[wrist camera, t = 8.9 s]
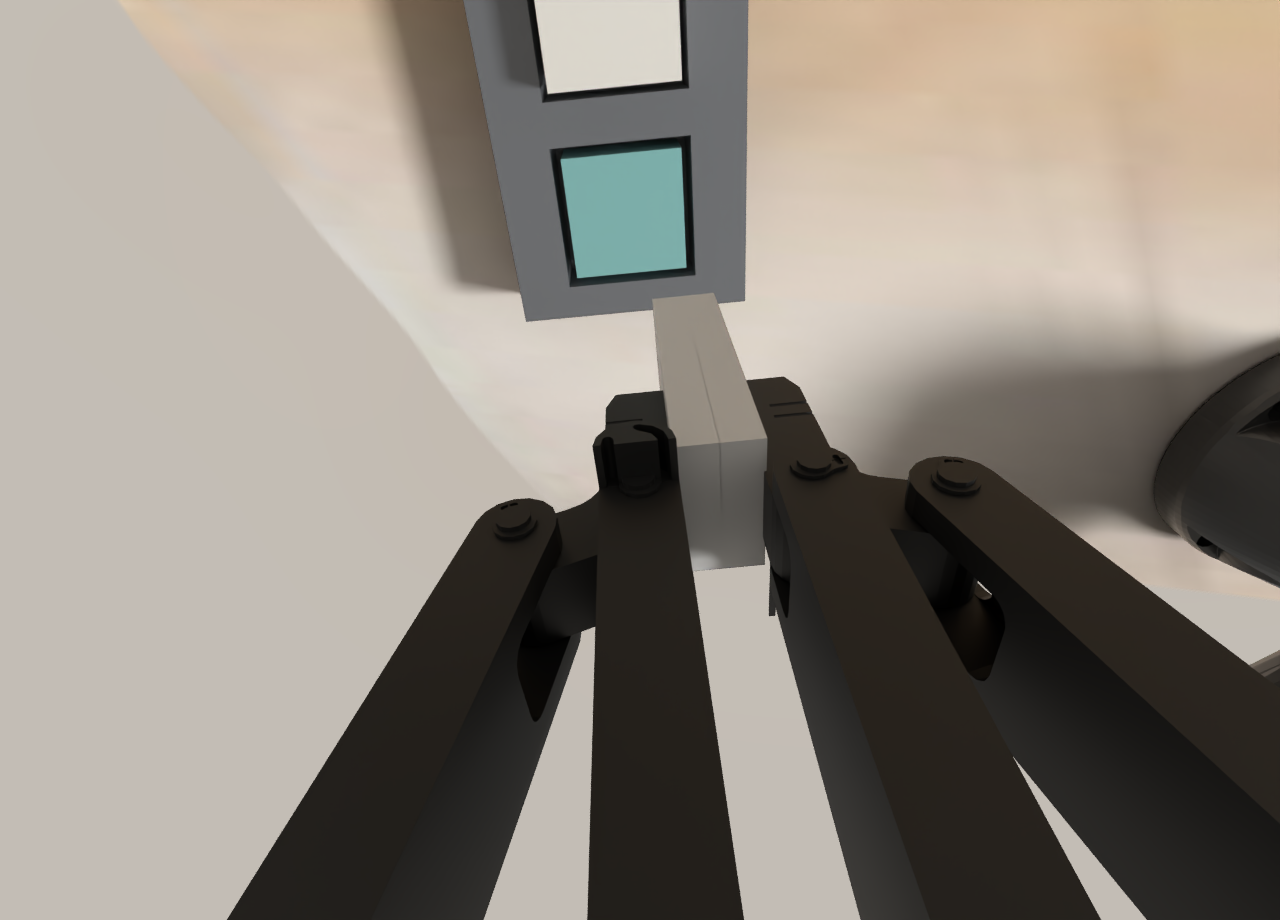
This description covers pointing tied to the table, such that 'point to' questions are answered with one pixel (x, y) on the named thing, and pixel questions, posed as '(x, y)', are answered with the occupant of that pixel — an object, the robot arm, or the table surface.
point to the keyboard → (549, 123)
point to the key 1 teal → (625, 207)
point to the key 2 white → (608, 43)
